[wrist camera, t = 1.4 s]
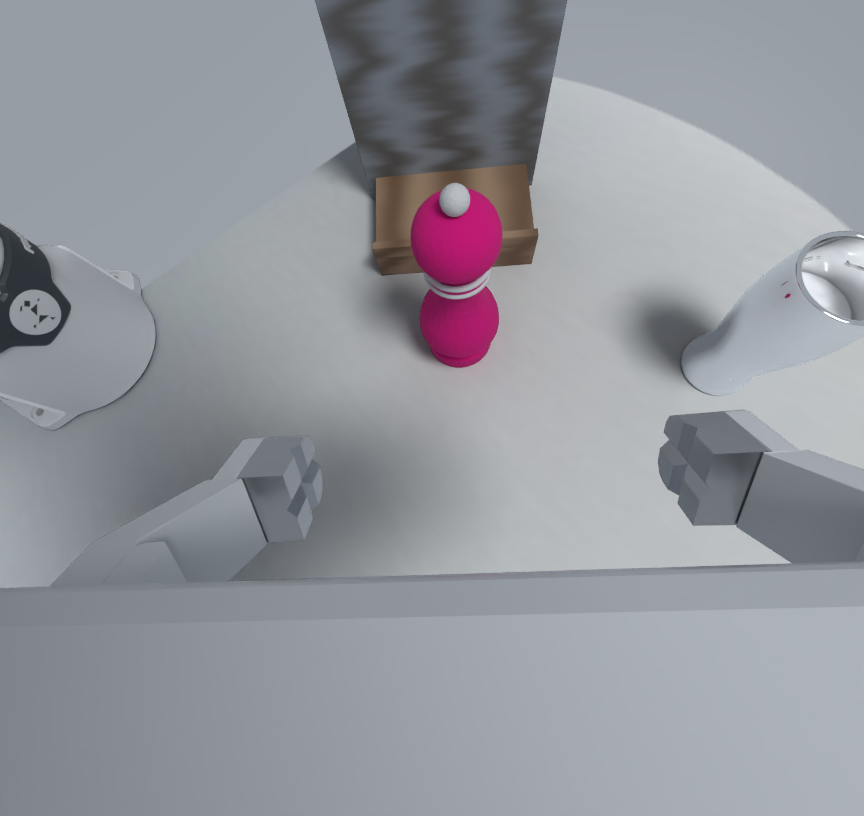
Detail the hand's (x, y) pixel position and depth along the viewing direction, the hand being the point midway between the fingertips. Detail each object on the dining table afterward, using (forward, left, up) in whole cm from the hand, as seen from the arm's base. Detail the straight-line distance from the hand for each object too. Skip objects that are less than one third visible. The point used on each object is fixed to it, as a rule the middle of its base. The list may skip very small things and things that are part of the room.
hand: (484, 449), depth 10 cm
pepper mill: (-6, +15, -30) cm, 34 cm away
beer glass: (+18, +19, -30) cm, 40 cm away
